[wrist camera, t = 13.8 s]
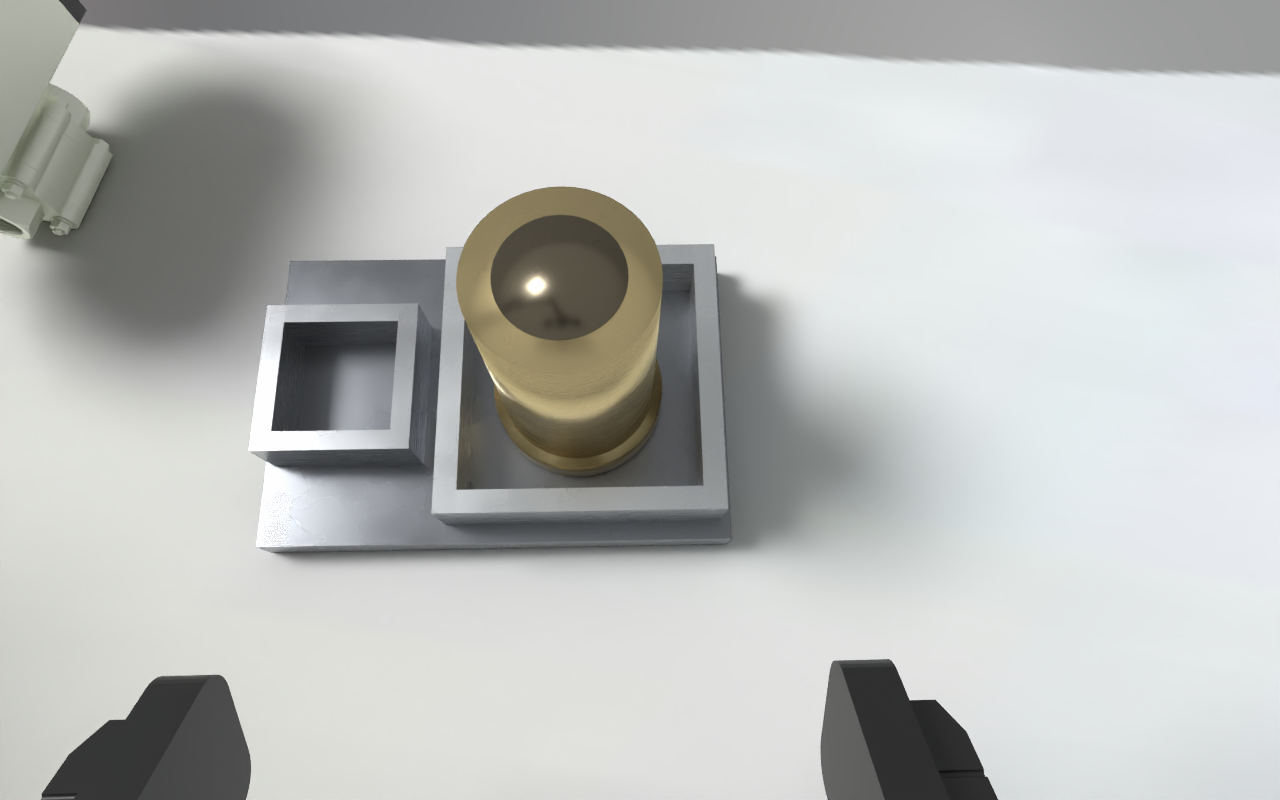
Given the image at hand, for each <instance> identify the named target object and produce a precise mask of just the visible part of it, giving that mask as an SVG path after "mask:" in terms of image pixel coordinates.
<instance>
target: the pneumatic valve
mask: <svg viewBox="0 0 1280 800" xmlns="http://www.w3.org/2000/svg"><path fill="white" fill-rule="evenodd" d="M86 11H87V10H86V9H85V8H84V7H83V5H82V4H81V3H80V2H79V0H0V234H3V235H6V236H10V237H14V238H19V239H28V238H32V237H34V235H35V233H36V231H37V229H38V227H39V225H40V223H41V221H49V222H51V224H50V228H51V229H52V232H53V233H54V234H56V235H59V236H62V235H63V234H68V233H69V231H70V229H72V228H73V229H78V228H79V226H80V224H81V221H82V219H83V217H84V215H85V213H86V211H87V209H88V207H89V205H90V202H91V200H92V198H93V196H94V194H95V192H96V190H97V188H98V186H99V184H100V181H101V179H102V177H103V175H104V173H105V171H106V169H107V167H108V165H109V163H110V160H111V158H112V154H111V153H110V152H109V151H108V150H109V144H108V143H106V142H105V141H103V140H101V139H98V138H91V136H90V135H89V134H88V133H87V132H86V130H87V128H88V126H89V122H90V111H89V109H88V108H87V107H86V106H85V105H84V104H83V103H82V102H81V101H80V100H79V99H78V98H76V97H75V96H73V95H72V94H70V93H69V92H67V91H65V90H63V89H61V88H59V87H57V86H55V85H52V84H50V81H51V79H52V77H53V75H54V73H55V71H56V69H57V67H58V65H59V63H60V61H61V59H62V57H63V56H64V54H65V52H66V50H67V48H68V46H69V44H70V42H71V40H72V38H73V36H74V34H75V32H76V31H77V29H78V27H79V25H80V23H81V21H82V19H83V17H84V15H85V13H86Z"/></svg>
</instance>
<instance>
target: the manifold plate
mask: <svg viewBox="0 0 1280 800" xmlns="http://www.w3.org/2000/svg"><path fill="white" fill-rule="evenodd" d="M656 246H657V249H658V251H659V255H660V259H661V263H662V272H663V284H662V297H661V308H660V319H659V330H658V340H657V351H656V358H657V361H658V364H659V367H660V371H661V376H662V398H661V406H660V412H659V417H658V420H657V423H656V426H655V428H654V430H653V432H652V434H651V436H650V438H649V439H648V441H647V442H646V444H645V445H644V446H643V447H642V448H641V449H640V451H639V452H638V453H637V454H635V455H634V456H633V457H632V458H631V459H630V460H628V461H626V462H625V463H623V464H622V465H620V466H618V467H616V468H614V469H612V470H610V471H607V472H604V473H601V474H596V475H591V476H567V475H562V474H557V473H554V472H551V471H548V470H546V469H544V468H542V467H540V466H538V465H536V464H535V463H533V462H532V461H530V460H529V459H527V458H526V457H525V456H524V455H523V454H522V453H521V452H520V451H519V450H518V449H517V448H516V447H515V445H514V444H513V442H512V441H511V439H510V438H509V436H508V434H507V432H506V430H505V428H504V426H503V424H502V422H501V420H500V418H499V415H498V412H497V409H496V404H495V398H494V382H493V380H492V378H491V375H490V373H489V371H488V369H487V367H486V365H485V362H484V360H483V358H482V356H481V354H480V352H479V349H478V347H477V345H476V343H475V341H474V338H473V336H472V334H471V332H470V330H469V328H468V325H467V323H466V321H465V319H464V317H463V315H462V312H461V309H460V306H459V302H458V297H457V291H456V274H457V267H458V262H459V259H460V255H461V252H462V250H463V248H464V247H446V260H360V261H291V262H290V270H289V278H288V287H287V295H286V303H285V305H267V311H266V318H265V326H264V334H263V342H262V350H261V357H260V365H259V373H258V381H257V389H256V396H255V404H254V412H253V420H252V428H251V435H250V443H249V452H251V453H253V454H255V455H256V456H258V457H260V458H261V459H263V460H265V461H266V469H265V477H264V485H263V494H262V502H261V510H260V518H259V527H258V535H257V543H256V547H257V548H260V549H263V550H266V551H269V552H316V551H370V550H425V549H479V548H534V547H588V546H643V545H697V544H727V543H728V542H729V541H730V540H731V523H730V504H729V486H728V467H727V449H726V430H725V412H724V393H723V375H722V356H721V338H720V319H719V301H718V282H717V264H716V257H715V252H714V244H699V245H656Z"/></svg>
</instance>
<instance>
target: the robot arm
mask: <svg viewBox="0 0 1280 800" xmlns="http://www.w3.org/2000/svg"><path fill="white" fill-rule="evenodd" d="M821 766H822V774H823V781H824V786H825V790H826V795H827V798H828V800H998V799H997V796H996V794H995V792H994V790H993V788H992V786H991V784H990V781H989V779H988V777H985V775H984V769H983V766H982V764H981V762H980V760H979V758H978V756H977V754H976V751H975V749H974V747H973V745H972V743H971V741H970V739H969V736H968V734H967V732H966V731H965V730H964V729H963V728H962V727H961V726H960V725H959V724H958V723H957V722H956V721H955V720H954V719H953V718H952V716H951V715H950V714H949V713H948V712H947V711H946V710H945V709H944V708H943V707H942V706H941V705H940V704H939V703H938V702H937V701H936V700H911V701H909V698H908V696H907V693H906V691H905V688H904V686H903V683H902V681H901V678H900V676H899V674H898V671H897V669H896V667H895V665H894V664H893V662H892V661H891V660H889V659H882V660H844V661H833V663H832V665H831V668H830V674H829V682H828V689H827V697H826V705H825V712H824V720H823V728H822V736H821ZM250 776H251V760H250V754H249V750H248V747H247V744H246V741H245V737H244V734H243V731H242V728H241V725H240V722H239V718H238V715H237V712H236V709H235V706H234V702H233V699H232V696H231V693H230V690H229V686H228V684H227V682H226V680H225V679H224V678H223V677H222V676H220V675H193V676H161V677H158V678H156V679H154V680H153V681H152V682H151V683H150V684H149V685H148V687H147V688H146V689H145V691H144V692H143V694H142V695H141V697H140V699H139V700H138V702H137V703H136V705H135V706H134V708H133V709H132V711H131V712H130V714H129V715H128V717H127V718H126V720H109V721H108V722H107V723H106V724H104V725H103V726H102V727H101V728H100V729H99V730H97V731H96V732H95V733H94V734H93V735H92V736H90V737H89V738H88V739H87V740H86V741H84V742H83V743H82V744H81V745H80V746H79V747H77V748H76V749H75V750H74V751H73V752H72V753H70V754H69V756H68V757H67V758H66V760H65V761H64V763H63V764H62V766H61V767H60V768H59V770H58V771H57V773H56V774H55V776H54V777H53V779H52V780H51V781H50V783H49V784H48V786H47V787H46V789H45V790H44V791H43V793H42V799H41V800H246V797H247V793H248V789H249V784H250Z"/></svg>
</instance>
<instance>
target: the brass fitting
mask: <svg viewBox="0 0 1280 800" xmlns="http://www.w3.org/2000/svg"><path fill="white" fill-rule="evenodd" d="M662 284H663V272H662V263H661V259H660V255H659V251H658V249H657V246H656V244H655V241H654V239H653V238H652V236H651V234H650V232H649V231H648V229H647V228H646V227H645V225H644V224H643V223H642V222H641V220H640V219H639V218H638V217H637V216H636V215H635V214H634V213H633V212H631V211H630V210H629V209H627V208H626V207H625V206H623V205H622V204H620V203H619V202H617V201H615V200H614V199H612V198H610V197H607V196H605V195H603V194H600V193H597V192H594V191H591V190H587V189H581V188H576V187H548V188H542V189H536V190H533V191H529V192H526V193H523V194H520V195H518V196H516V197H513V198H511V199H509V200H508V201H506V202H504V203H502V204H501V205H499V206H498V207H496V208H495V209H494V210H492V211H491V212H490V213H489V214H488V215H487V216H486V217H484V218H483V219H482V220H481V221H480V223H479V224H478V225H477V226H476V227H475V229H474V230H473V231H472V233H471V235H470V236H469V238H468V239H467V241H466V243H465V245H464V248H463V250H462V252H461V255H460V259H459V262H458V267H457V274H456V291H457V297H458V302H459V306H460V309H461V312H462V315H463V317H464V319H465V321H466V323H467V325H468V328H469V330H470V332H471V334H472V336H473V338H474V341H475V343H476V345H477V347H478V349H479V352H480V354H481V356H482V358H483V360H484V362H485V365H486V367H487V369H488V371H489V373H490V375H491V378H492V380H493V382H494V398H495V404H496V409H497V412H498V415H499V418H500V420H501V422H502V424H503V426H504V428H505V430H506V432H507V434H508V436H509V438H510V439H511V441H512V442H513V444H514V445H515V447H516V448H517V449H518V450H519V451H520V452H521V453H522V454H523V455H524V456H525V457H526V458H527V459H529V460H530V461H532V462H533V463H535V464H536V465H538V466H540V467H542V468H544V469H546V470H548V471H551V472H554V473H557V474H562V475H567V476H591V475H596V474H601V473H604V472H607V471H610V470H612V469H614V468H616V467H618V466H620V465H622V464H623V463H625V462H626V461H628V460H630V459H631V458H632V457H633V456H634V455H635V454H637V453H638V452H639V451H640V449H641V448H642V447H643V446H644V445H645V444H646V442H647V441H648V439H649V438H650V436H651V434H652V432H653V430H654V428H655V426H656V423H657V420H658V417H659V412H660V406H661V398H662V376H661V371H660V367H659V364H658V361H657V358H656V351H657V340H658V330H659V319H660V308H661V297H662Z"/></svg>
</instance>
